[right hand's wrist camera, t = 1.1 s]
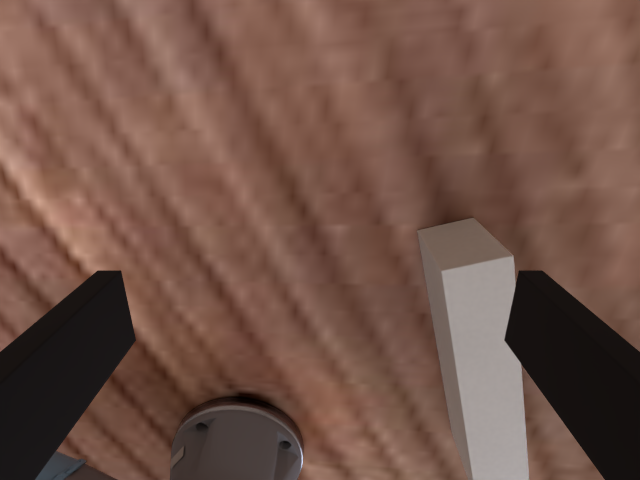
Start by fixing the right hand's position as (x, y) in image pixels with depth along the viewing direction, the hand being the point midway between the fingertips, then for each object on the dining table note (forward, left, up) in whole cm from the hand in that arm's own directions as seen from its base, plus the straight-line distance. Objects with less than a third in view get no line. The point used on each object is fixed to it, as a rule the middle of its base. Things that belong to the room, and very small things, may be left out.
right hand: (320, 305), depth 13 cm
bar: (-14, -19, -22) cm, 32 cm away
